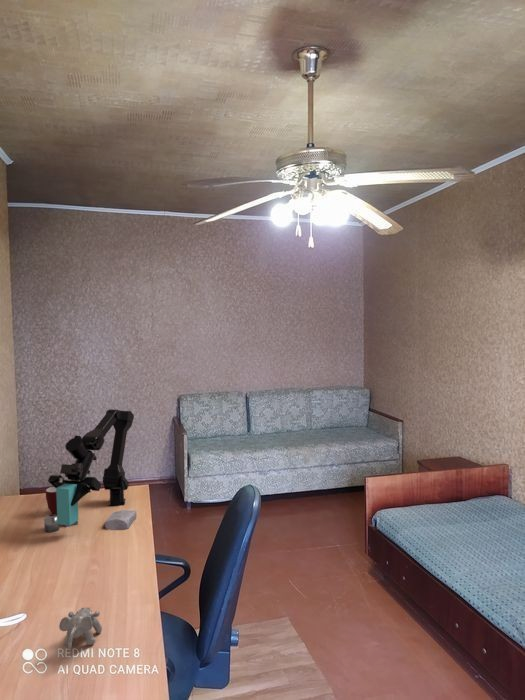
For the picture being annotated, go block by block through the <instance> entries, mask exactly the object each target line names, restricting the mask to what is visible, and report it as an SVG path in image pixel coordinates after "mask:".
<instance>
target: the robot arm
mask: <svg viewBox="0 0 525 700" xmlns="http://www.w3.org/2000/svg"><path fill="white" fill-rule="evenodd" d="M134 419H135V416H134V413H132V411H131V410H119V409H118V408H117V409H115V408H114V409H111V408H110V409H108V410H106V412H105V415H104V416H103V417H102V419H101V420H100V421H99V422H98V423H97V424H96V426H95V428H94V429H92V430H89V431H88V432H86V433H85V434H84V435H83V436H81V435H74V437H73V438H71V439H69V440H68V441H66V443H65V450H66V451H67V452H68V453H69V454H70V455H71V456H72V458H74V459H75V461H74V463H71V464H61V468H60V472H59V473H60V474H63V475H64V476H65V478H64V477H63V476H62V475H60V474H51V475H50V476H49V477H48V480H47V482H48V483H49V484H50V485H51V487H55V488H57V487H59V486H61V485H63V484H65V483H66V484H77V490H76V492H75V495H74V497H73V499H72V502H71V506H74V505H75V504H76V503H77V502H78V503H79V501H80V500H81V499H82V498H83V497H85V496H86V495H87V494H89V493H91V492H92V491H94V492H99V491H100V489H101V487H102V485H103V487H104V490H105V491H107V490H109V501H108V507H115V506H121V505H125V504H126V498H125V492H124V491H126V490H128V488H129V486H130V485H129V484H130V483H129V481H128V479H127V478H126V472H125V470H124V469H125V468H124V467H123V462H124V461H123V460H124V456H125V455H124V453H125V447H126V441H127V434H128V431H129V430H130V428H132V425H133V421H134ZM112 427H113V428H114V436H113V437H114V438H113V444H112V448H111V449H112V450H111V457H110V462H109V465H108V467H107V468H106V467H105V468H104V471H103V475H102V476H103V477H102V484H101V482H100V480H99V479H97V477H96V476H87V475H90V473H91V471H90V468H91V466H92V463H93V461H97V455H96V453H95V452H93V451H100V450H101V449H102V447H103V446H104V444H105V437H106V435H107V434H108V432H110V429H111V428H112Z"/></svg>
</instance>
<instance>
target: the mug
mask: <svg viewBox="0 0 525 700" xmlns="http://www.w3.org/2000/svg"><path fill="white" fill-rule="evenodd" d="M45 500H46V503H47V508H48V510H49V512H50V513H51V514H57V495H56V488H55V487H53V486H49V487H47V488H46V489H45Z"/></svg>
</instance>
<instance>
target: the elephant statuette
mask: <svg viewBox="0 0 525 700" xmlns="http://www.w3.org/2000/svg"><path fill="white" fill-rule="evenodd" d="M97 617H100V611H99V610H96V611H94V613H92V609H91V607H81V608H80V609H78V610H77V611H75V613H74V611H69V612H68V614H67V616H65V617H63V618H62V619H61V620H60V621H59V625H58V628H59V630H60V631H61V632H66V638H65V639H64V641H63V644H65V646H67V648H68V650H71V649H72V646H73V641H74V639H76V638H79V637H80V636H83V637H84V639H85V644H86V645H87V646H92V645H93V644H95V643H96V641H97V639H96V638H95V636H94V634H93V630H92V629H94V630H95V633H96V634H99V635H100V634H101V633H102V631H103V626H102V624H101V623H100V621H99V619H97Z"/></svg>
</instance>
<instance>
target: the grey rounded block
mask: <svg viewBox="0 0 525 700" xmlns="http://www.w3.org/2000/svg"><path fill="white" fill-rule="evenodd" d="M43 521H44V522H43V524H44V533H47V534H50V533H51V534H52V533H55V532H58V531H59V530H60V524H58V523H57V514H52V513H51V514H47V515H45V516H44V517H43Z"/></svg>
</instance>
